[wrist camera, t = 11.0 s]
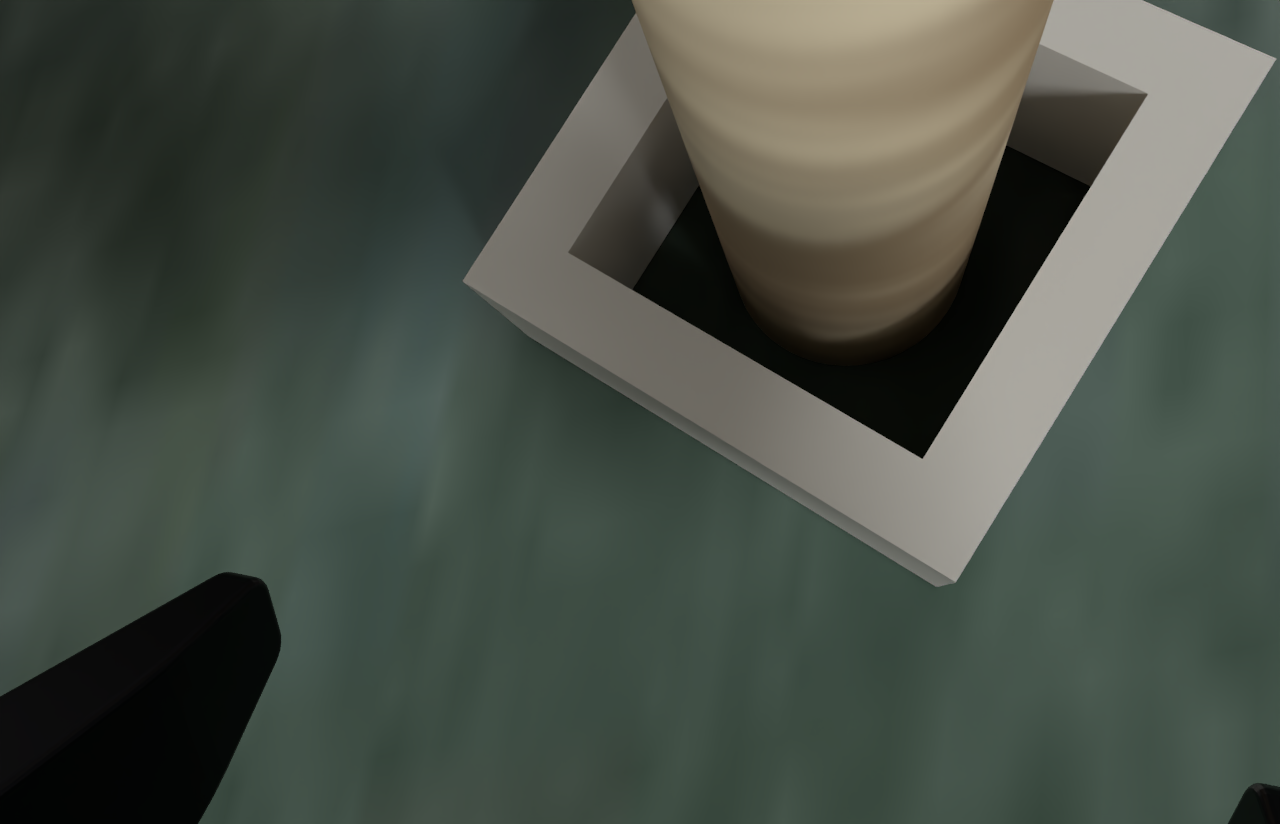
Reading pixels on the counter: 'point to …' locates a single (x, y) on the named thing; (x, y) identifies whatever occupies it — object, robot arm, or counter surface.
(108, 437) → the counter surface
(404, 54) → the counter surface
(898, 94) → the peg
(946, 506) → the socket
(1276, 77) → the counter surface
